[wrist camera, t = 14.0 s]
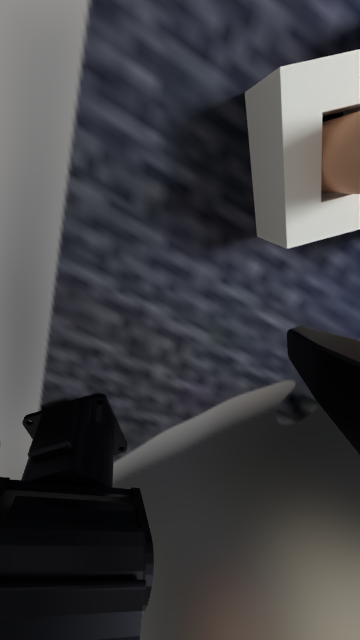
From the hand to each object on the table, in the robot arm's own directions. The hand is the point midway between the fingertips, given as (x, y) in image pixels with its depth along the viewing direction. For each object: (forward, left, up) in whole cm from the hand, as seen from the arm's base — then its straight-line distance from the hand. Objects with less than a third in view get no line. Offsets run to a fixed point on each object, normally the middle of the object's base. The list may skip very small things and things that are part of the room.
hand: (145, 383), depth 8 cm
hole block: (+4, -13, -12) cm, 18 cm away
